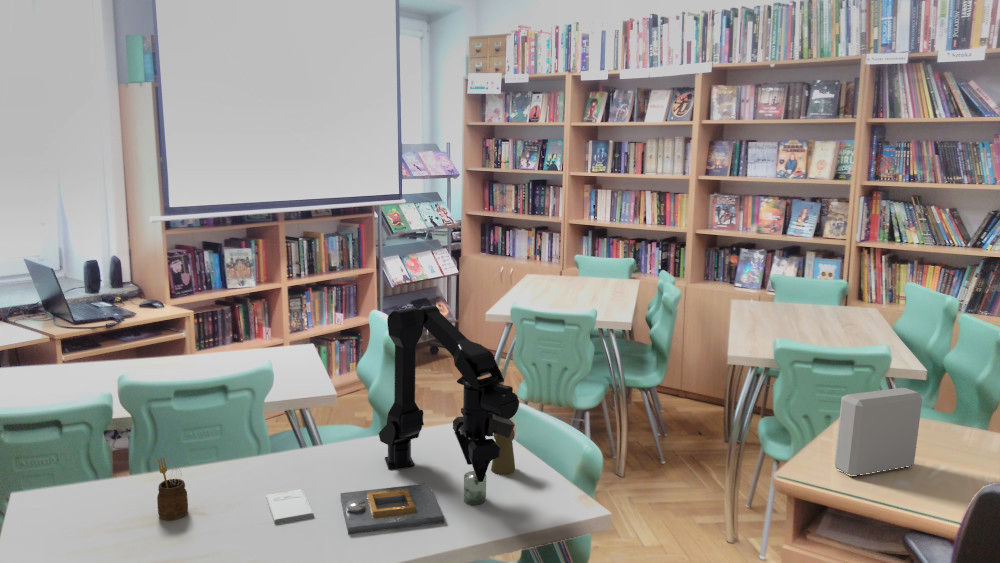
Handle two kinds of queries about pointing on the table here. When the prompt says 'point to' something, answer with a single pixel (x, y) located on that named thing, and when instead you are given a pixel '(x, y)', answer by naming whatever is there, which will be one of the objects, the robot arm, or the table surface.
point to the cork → (504, 455)
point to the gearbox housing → (369, 518)
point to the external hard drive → (289, 506)
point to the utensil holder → (171, 496)
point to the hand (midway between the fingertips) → (475, 472)
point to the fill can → (474, 490)
